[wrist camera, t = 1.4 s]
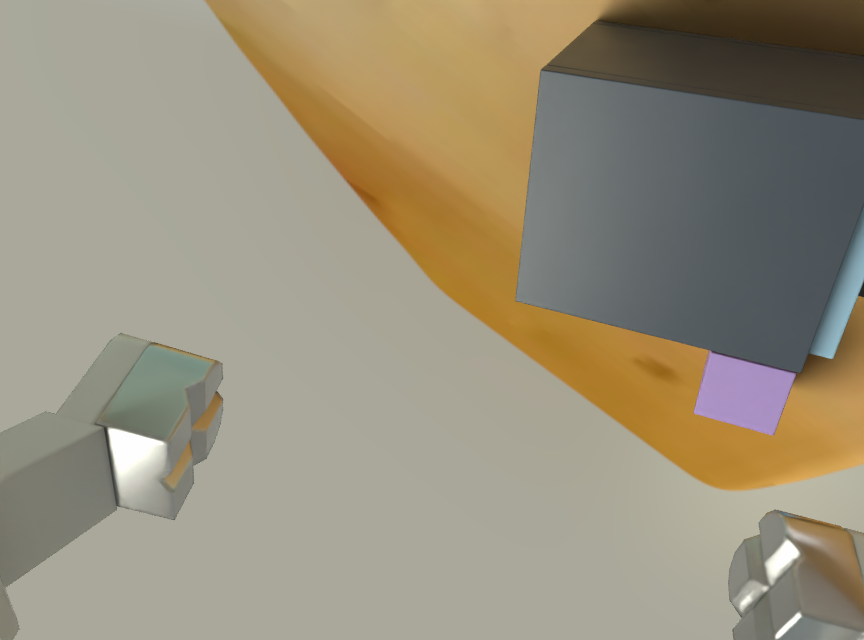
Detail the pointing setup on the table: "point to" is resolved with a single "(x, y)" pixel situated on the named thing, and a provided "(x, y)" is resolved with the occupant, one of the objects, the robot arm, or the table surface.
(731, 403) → the purple block
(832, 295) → the blue drawer
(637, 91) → the drawer cabinet
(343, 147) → the table surface
